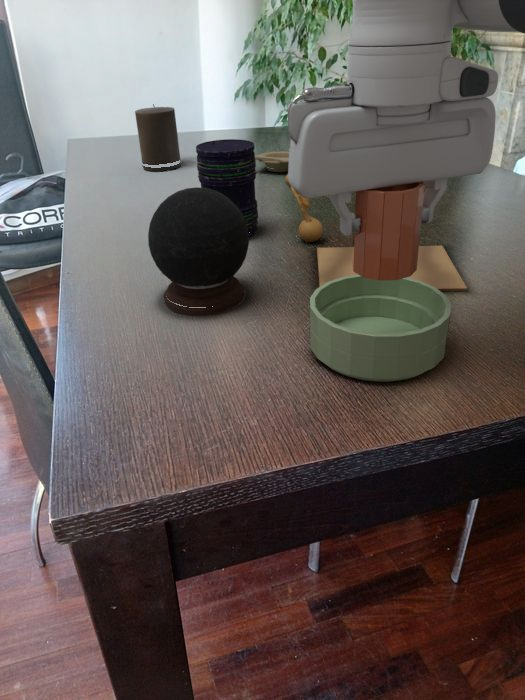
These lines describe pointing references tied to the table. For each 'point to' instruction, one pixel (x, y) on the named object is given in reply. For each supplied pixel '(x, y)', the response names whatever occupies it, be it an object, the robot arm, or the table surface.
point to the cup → (388, 231)
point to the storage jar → (231, 174)
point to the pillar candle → (158, 137)
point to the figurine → (306, 219)
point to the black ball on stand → (199, 250)
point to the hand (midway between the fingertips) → (386, 227)
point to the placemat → (430, 270)
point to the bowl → (379, 327)
